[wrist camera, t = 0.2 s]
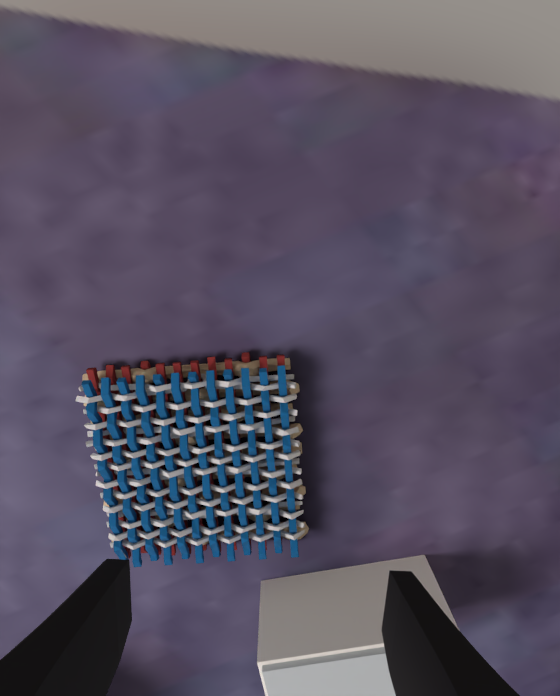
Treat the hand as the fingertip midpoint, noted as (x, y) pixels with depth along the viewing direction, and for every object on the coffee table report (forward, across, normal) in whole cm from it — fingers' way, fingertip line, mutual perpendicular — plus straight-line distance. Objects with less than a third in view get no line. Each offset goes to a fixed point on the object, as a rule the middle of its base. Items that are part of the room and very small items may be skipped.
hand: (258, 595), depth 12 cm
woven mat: (+11, +3, +1) cm, 11 cm away
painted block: (+10, -5, +10) cm, 15 cm away
